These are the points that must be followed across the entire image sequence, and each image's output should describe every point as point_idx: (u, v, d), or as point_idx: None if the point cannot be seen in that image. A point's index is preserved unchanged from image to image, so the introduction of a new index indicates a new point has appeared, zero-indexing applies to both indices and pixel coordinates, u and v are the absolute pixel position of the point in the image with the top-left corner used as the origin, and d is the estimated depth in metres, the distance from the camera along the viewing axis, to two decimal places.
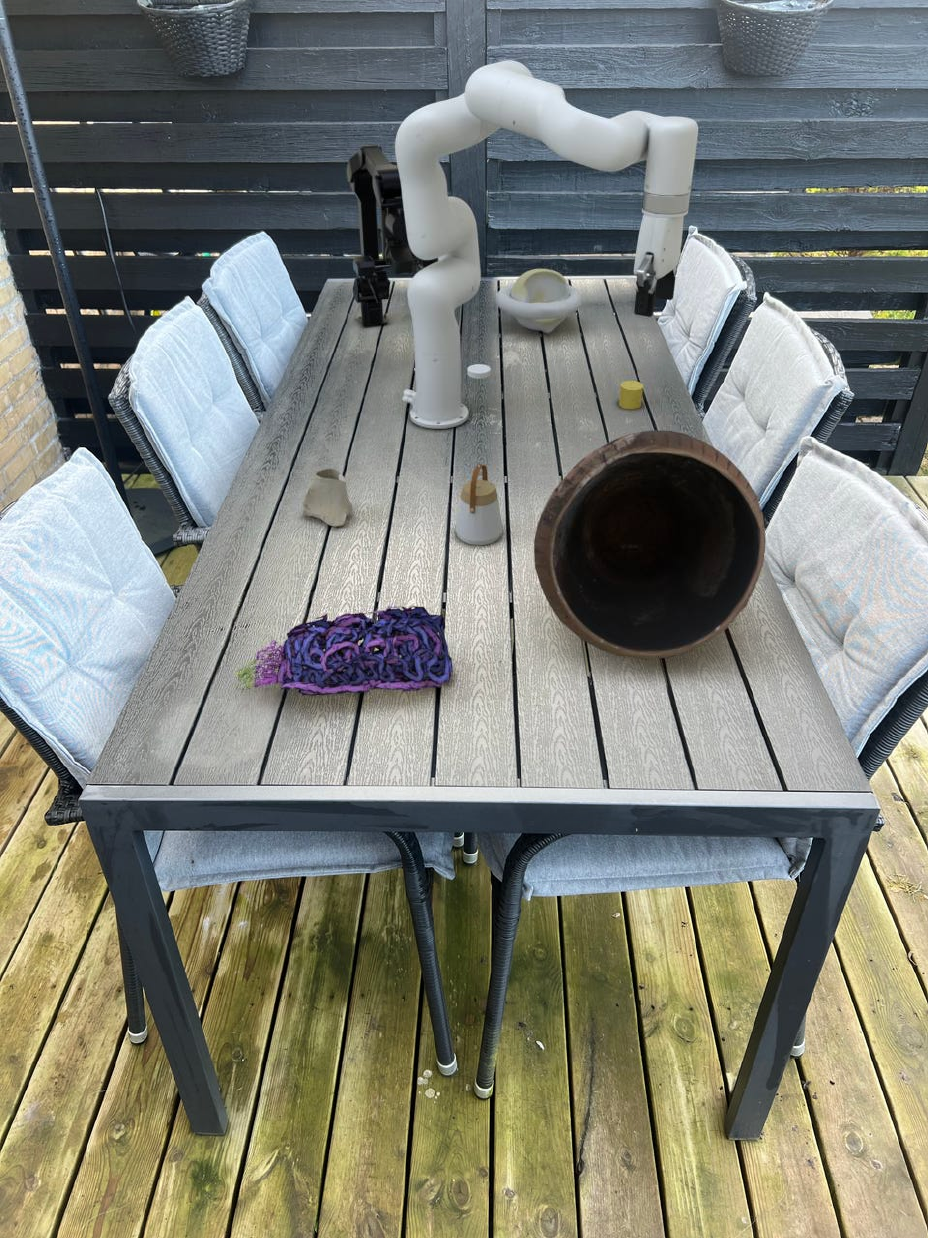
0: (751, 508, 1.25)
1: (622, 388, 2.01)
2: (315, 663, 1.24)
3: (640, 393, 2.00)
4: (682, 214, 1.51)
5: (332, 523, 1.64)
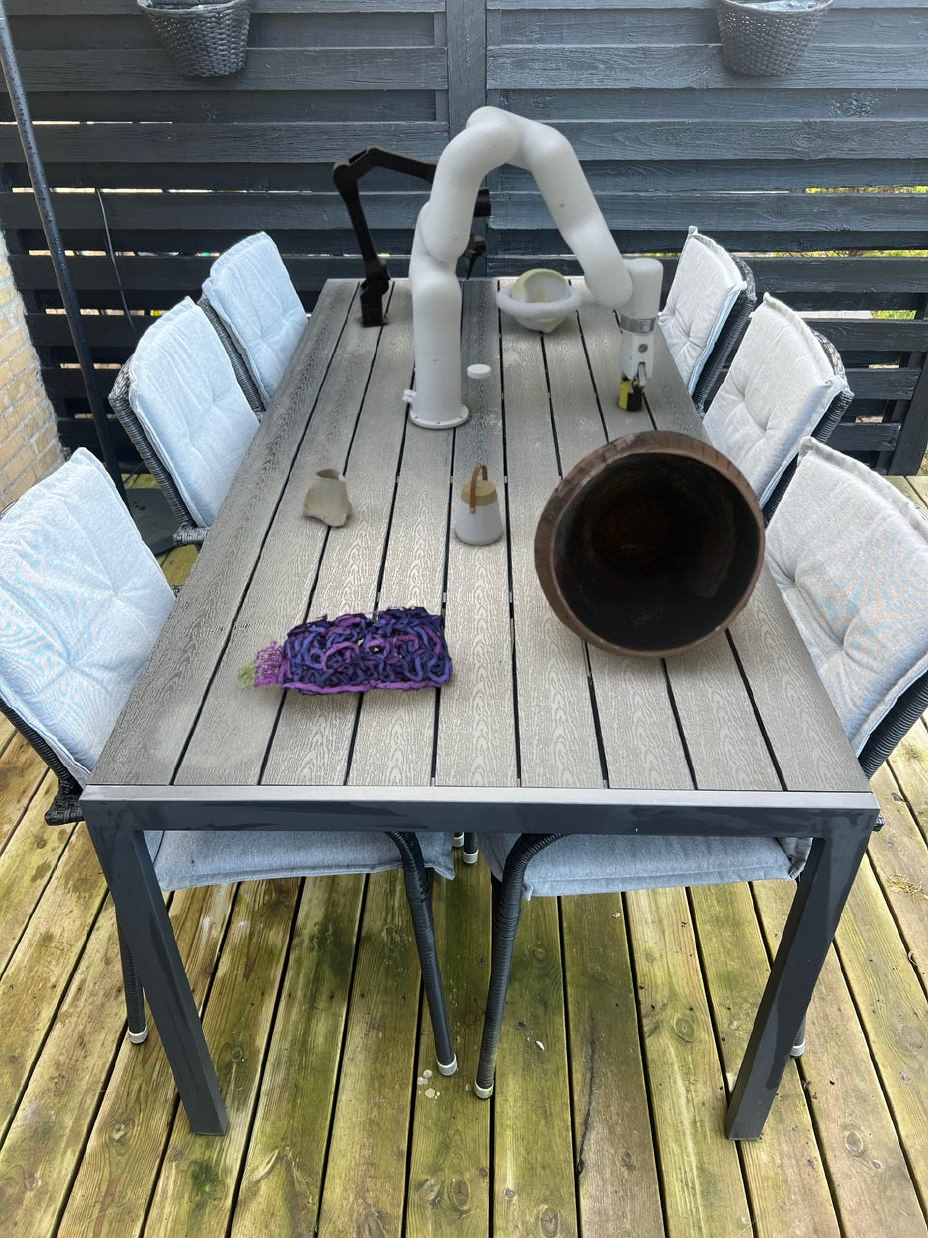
0: (751, 508, 1.25)
1: (622, 388, 2.01)
2: (315, 663, 1.24)
3: None
4: (620, 326, 1.94)
5: (332, 523, 1.64)
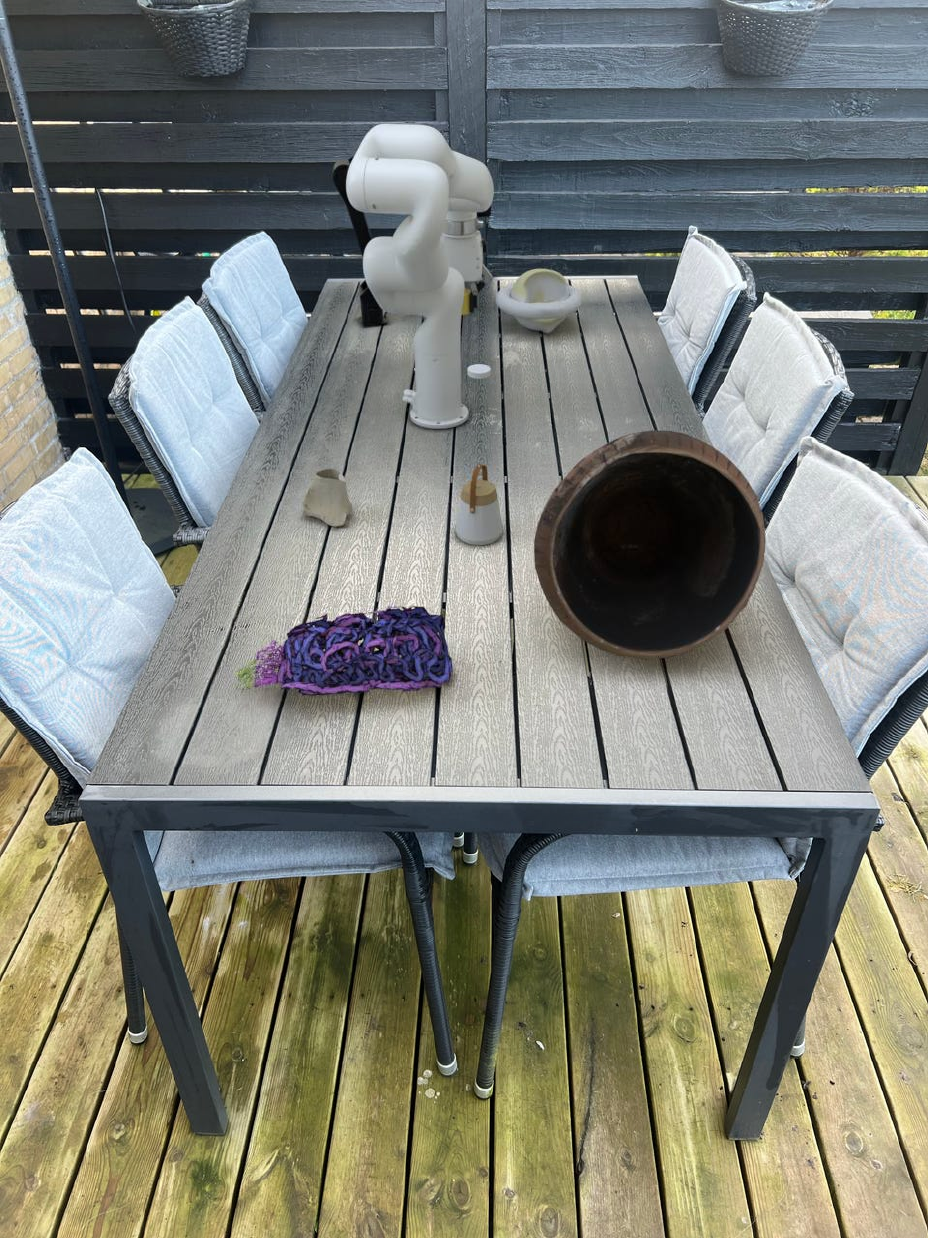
0: (751, 508, 1.25)
1: None
2: (315, 663, 1.24)
3: None
4: (451, 236, 1.97)
5: (332, 523, 1.64)
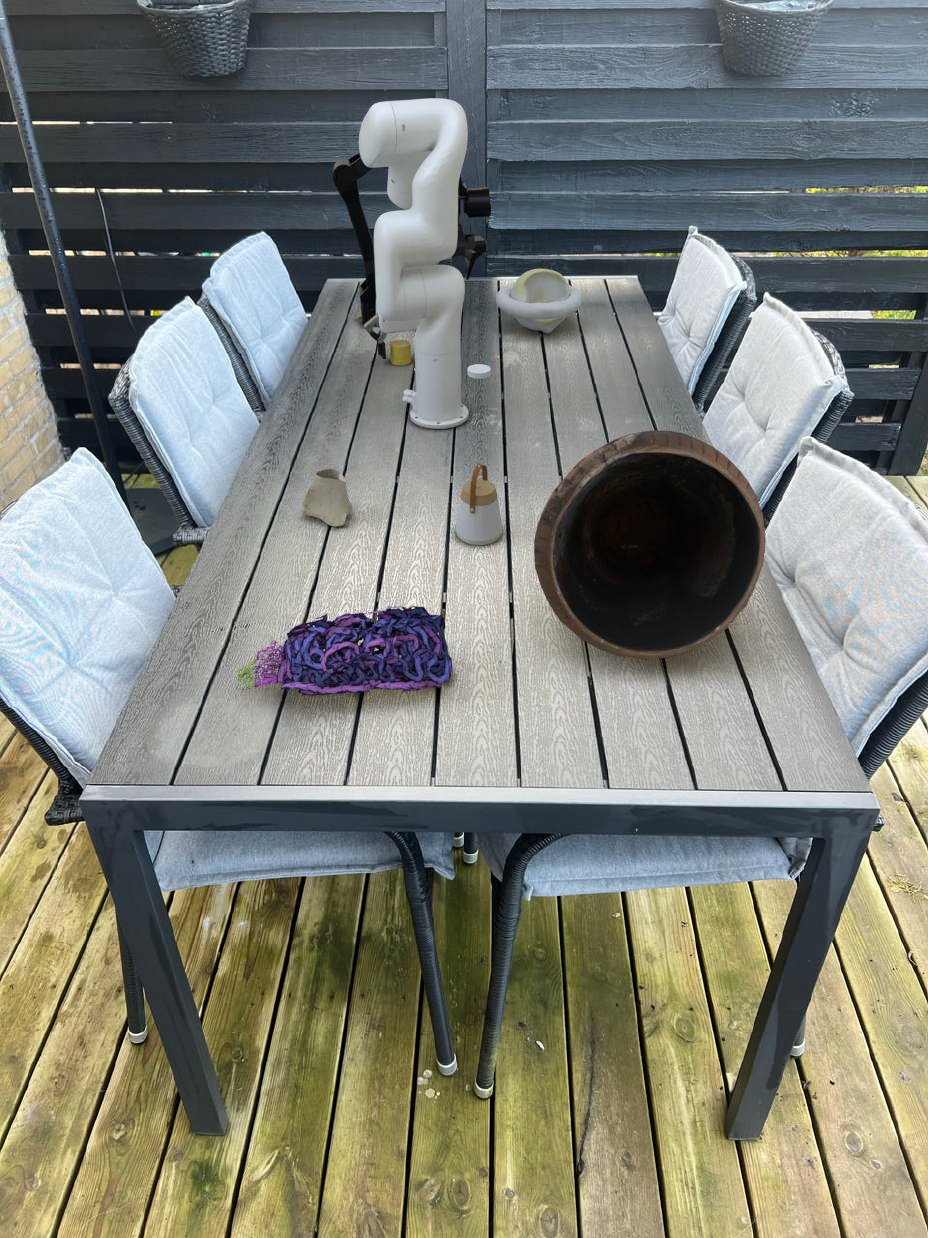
0: (751, 508, 1.25)
1: (405, 347, 2.20)
2: (315, 663, 1.24)
3: None
4: None
5: (332, 523, 1.64)
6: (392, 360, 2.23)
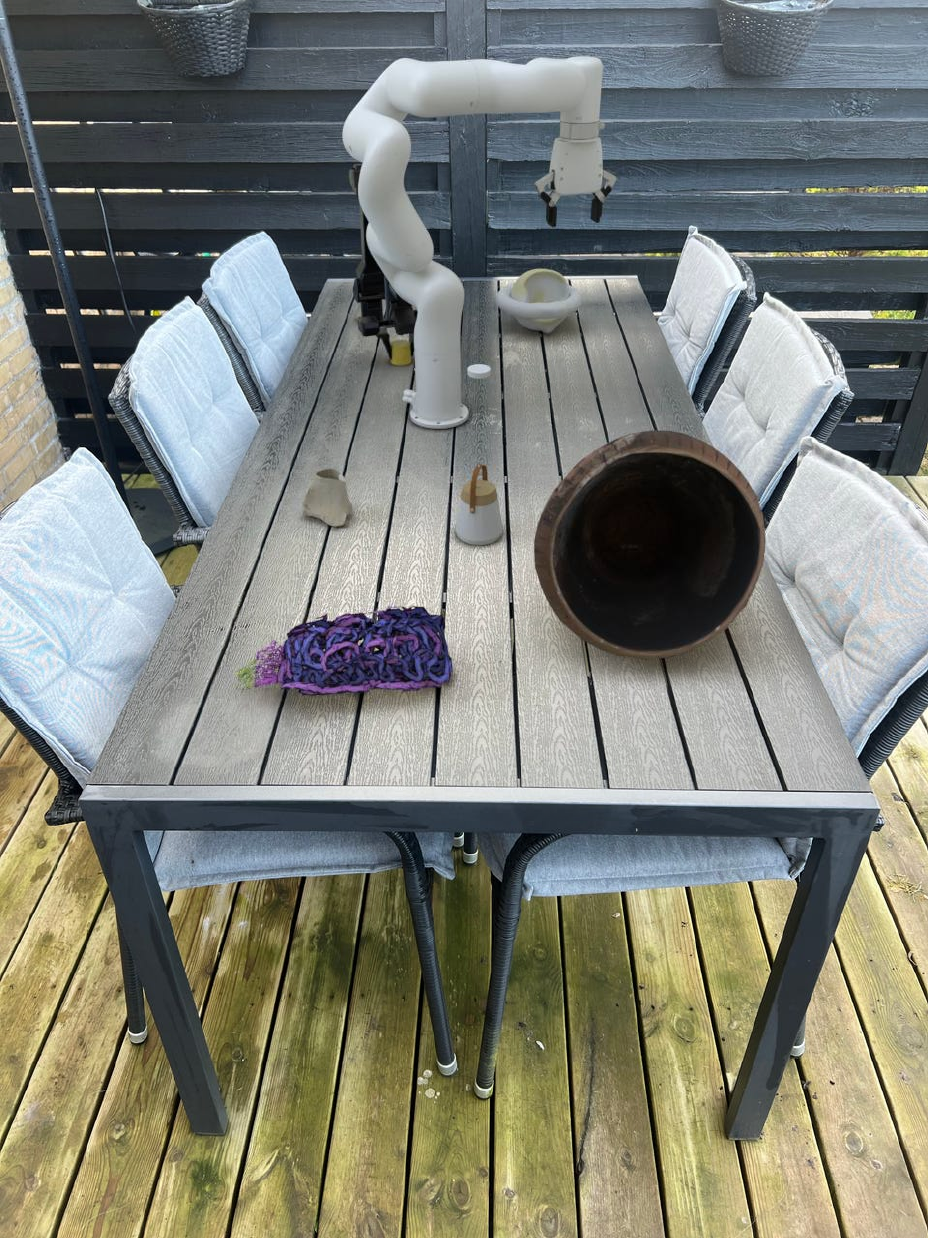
0: (751, 508, 1.25)
1: (405, 347, 2.20)
2: (315, 663, 1.24)
3: None
4: (579, 141, 1.79)
5: (332, 523, 1.64)
6: (392, 360, 2.23)
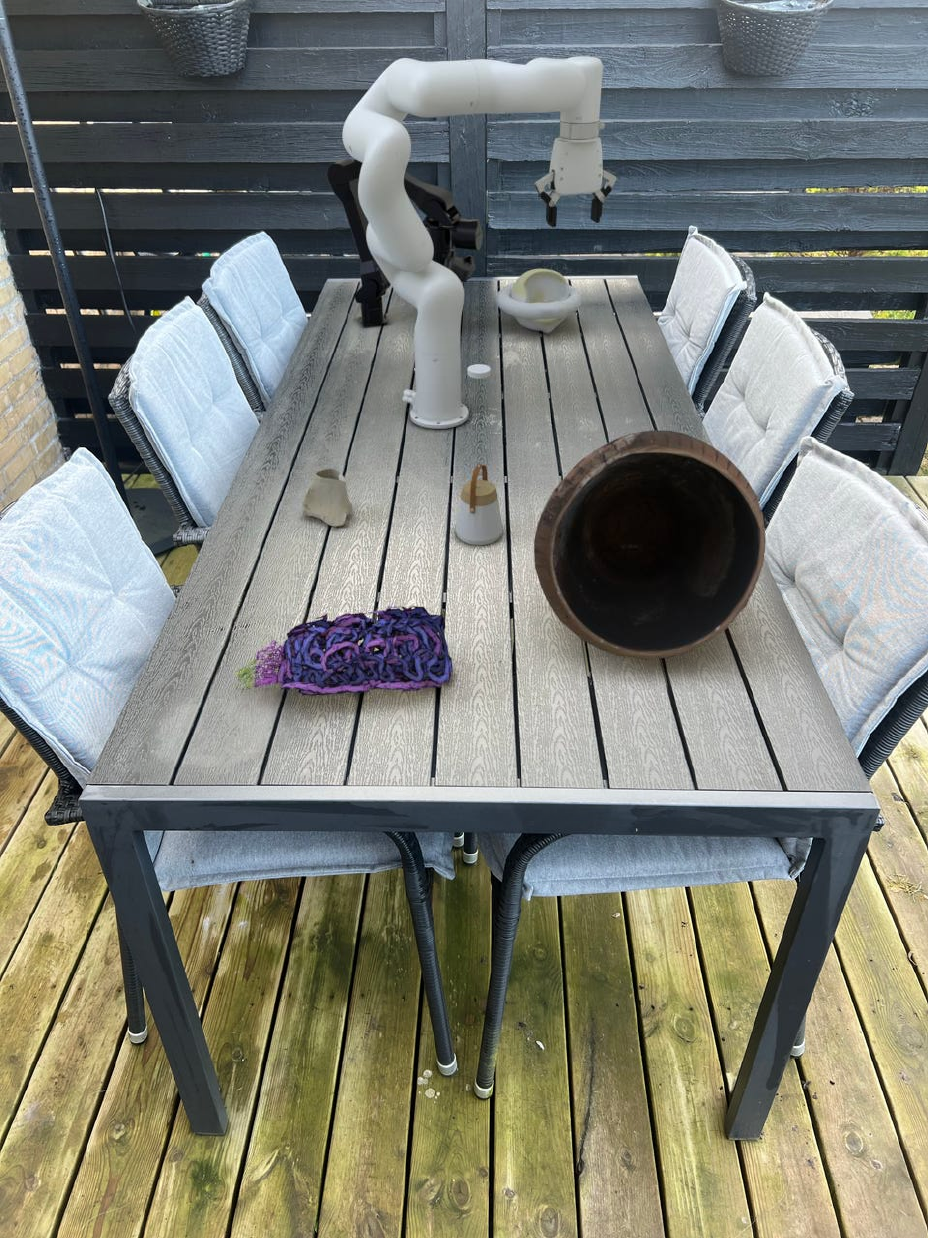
0: (751, 508, 1.25)
1: None
2: (315, 663, 1.24)
3: None
4: (579, 141, 1.79)
5: (332, 523, 1.64)
6: None
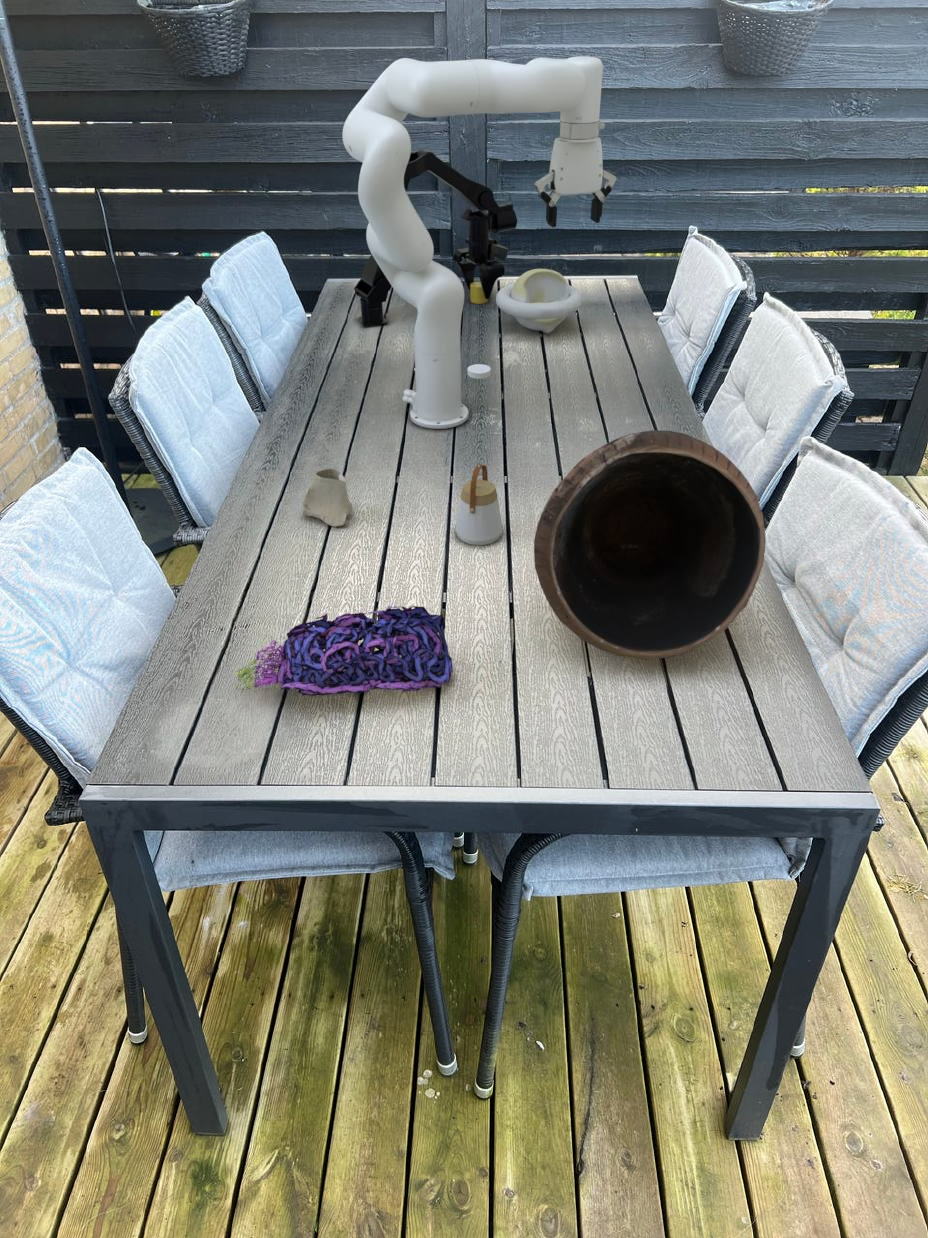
0: (751, 508, 1.25)
1: None
2: (315, 663, 1.24)
3: None
4: (579, 141, 1.79)
5: (332, 523, 1.64)
6: (485, 299, 2.57)
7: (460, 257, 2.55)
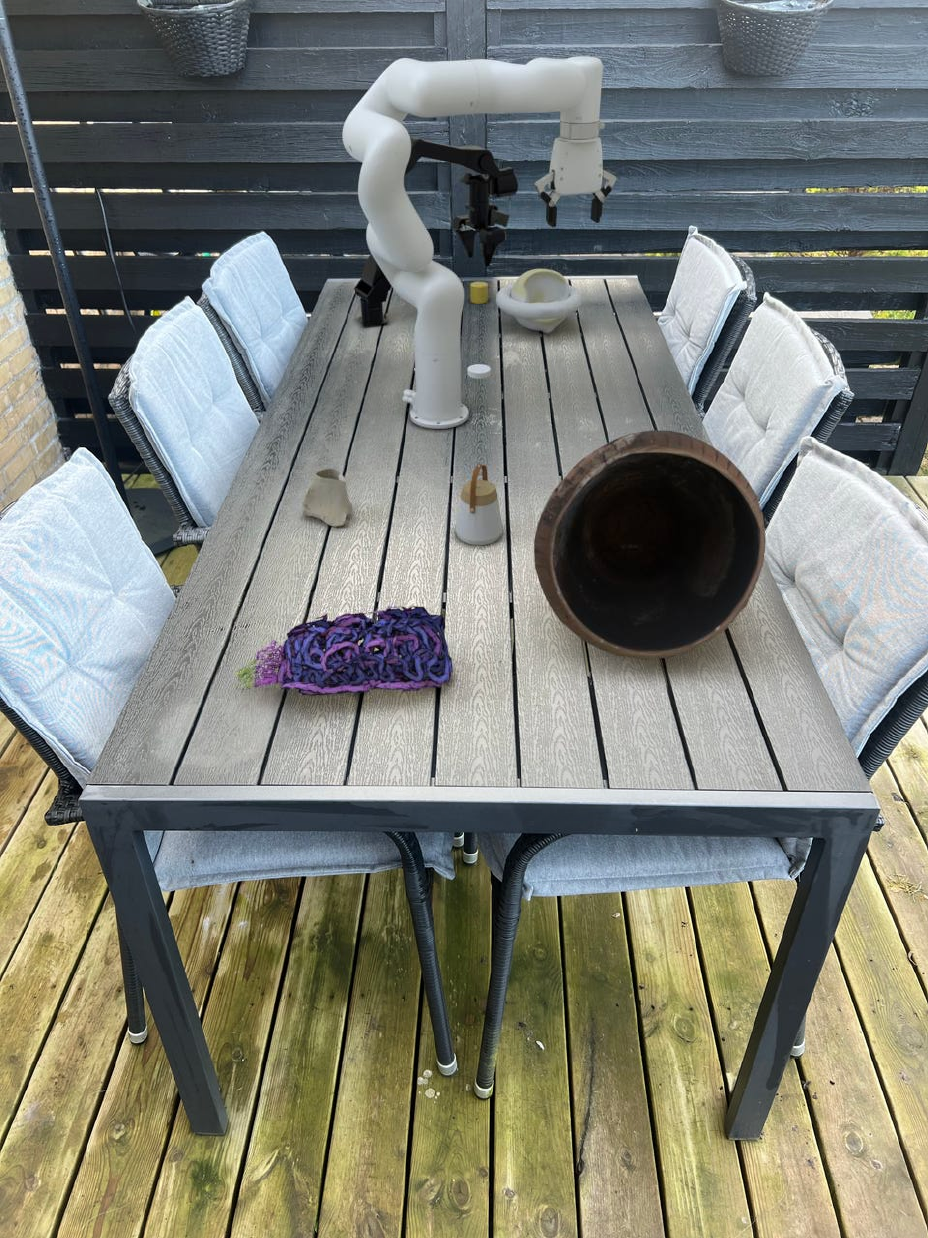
0: (751, 508, 1.25)
1: None
2: (315, 663, 1.24)
3: None
4: (579, 141, 1.79)
5: (332, 523, 1.64)
6: (485, 299, 2.57)
7: (460, 224, 2.50)
